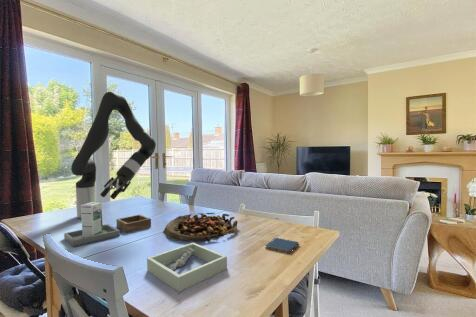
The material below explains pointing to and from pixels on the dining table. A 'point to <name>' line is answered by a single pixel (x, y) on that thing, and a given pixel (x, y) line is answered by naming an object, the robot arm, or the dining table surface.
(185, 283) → the sage display box
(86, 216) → the syrup box
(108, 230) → the charcoal tray
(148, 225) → the walnut collar
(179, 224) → the food dish
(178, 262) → the soldier figure
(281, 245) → the woven mat
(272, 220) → the dining table surface
